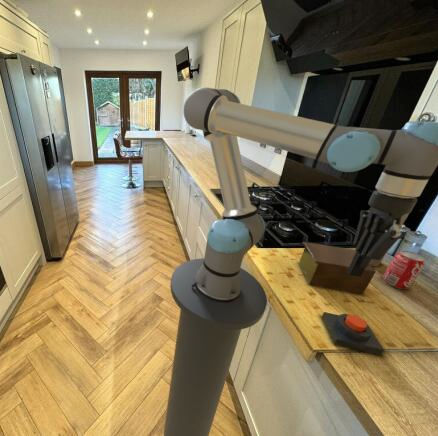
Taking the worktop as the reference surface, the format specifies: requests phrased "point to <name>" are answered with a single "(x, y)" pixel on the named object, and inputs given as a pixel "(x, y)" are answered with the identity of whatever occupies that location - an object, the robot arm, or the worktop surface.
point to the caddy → (333, 276)
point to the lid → (333, 256)
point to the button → (355, 323)
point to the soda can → (404, 269)
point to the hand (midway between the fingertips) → (353, 274)
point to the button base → (351, 335)
